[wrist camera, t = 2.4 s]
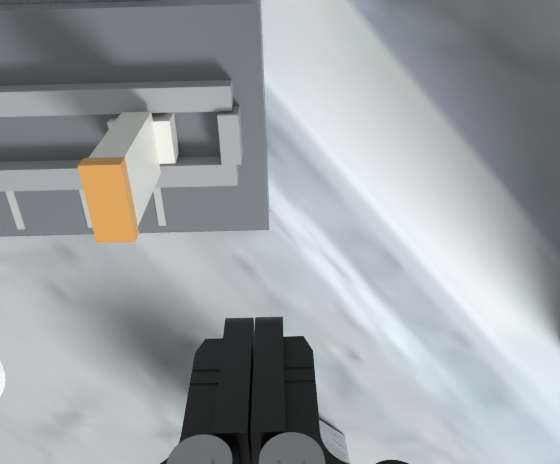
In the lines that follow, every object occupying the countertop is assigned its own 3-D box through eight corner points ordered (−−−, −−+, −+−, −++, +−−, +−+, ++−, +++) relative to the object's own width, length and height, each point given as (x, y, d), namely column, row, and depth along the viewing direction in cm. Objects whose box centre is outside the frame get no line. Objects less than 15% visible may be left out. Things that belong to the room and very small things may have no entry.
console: (260, -3, 26) (258, 9, 23) (269, 212, 32) (268, 243, 29) (-232, 10, 26) (-294, 24, 23) (-128, 222, 32) (-167, 253, 30)
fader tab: (172, 100, 26) (139, 164, 20) (180, 163, 28) (152, 241, 22) (111, 102, 26) (58, 166, 20) (123, 165, 28) (78, 242, 22)
